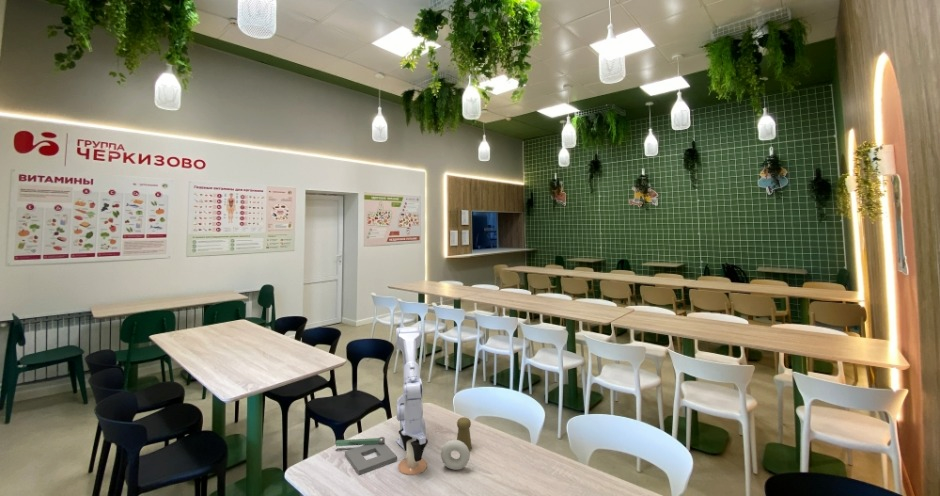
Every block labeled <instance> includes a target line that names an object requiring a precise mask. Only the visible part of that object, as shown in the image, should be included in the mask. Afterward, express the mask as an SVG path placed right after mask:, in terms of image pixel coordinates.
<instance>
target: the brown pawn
mask: <svg viewBox="0 0 940 496" xmlns="http://www.w3.org/2000/svg"><path fill="white" fill-rule="evenodd" d="M471 424H472V423H471V420H470V419H469V417H465V416H464V417H460V418H458V420H457V422H456V427H457V428H458V429H457V435H456V440H459V441H461V442H463V443H464V444H465V445H466V446H467V447H468V449H469V452H470V451H471V450H472V449H473V448H472V439H471V432H470V431H471V430H470V427H471Z"/></svg>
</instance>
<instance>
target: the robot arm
mask: <svg viewBox="0 0 940 496" xmlns="http://www.w3.org/2000/svg"><path fill="white" fill-rule="evenodd" d="M421 342H422V328H421V327H420V326H412V327H411V326H409V327H397V328H395V343H396V344H395V346H396V349H397V350H399V351H401V355H402V374H403V375H402V376H403V379H402V380H403V385H402V394H401V395H400V396H399V397H398V398H397V400H396V406H395V407H396V420H397V421H398V422H399V430H398V434H399V438H396V439H395V442H396V444H398V445H399V447H401V448H402V449H403V450H404V452H407V441H408V440H411V439H415V440H416V441H413V442H411V445H412V447H413V451H414V459H415V461H416V462H417V461H420V460H421V459H422V458H423V454H424V451H425V448H426V446H427V444H428V443H429V440H428V439H427V438H426V437H427V436H426V435H427V431H426V429H427V428H426V426H427V425H426V421H425V419H424V416H423V415H424V409H423V408H424V407H423V398H424V397H423V396H424V386H423V382H422V378H421V373H420V364H418V362H416V359H417V358H416V357H417V356H416V354H417V352H416V351H417V349H419V348H420V346H421Z"/></svg>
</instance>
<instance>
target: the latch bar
mask: <svg viewBox="0 0 940 496" xmlns="http://www.w3.org/2000/svg"><path fill="white" fill-rule="evenodd" d="M385 440H386V438H385V437H384V436H380V437H374V438H372V437H371V438H354V439H337V440H336V441H335V447H348V446H363V445H371V444H379V445H382V444H384V443H385V442H386V441H385ZM385 444H386V443H385Z"/></svg>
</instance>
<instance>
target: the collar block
mask: <svg viewBox="0 0 940 496" xmlns="http://www.w3.org/2000/svg"><path fill="white" fill-rule="evenodd" d="M373 453H375V454H376V456H375V457H371V458H368V459H366V458H365V457H364V456H367V455H370V454H373ZM344 456H345V458H346V459H347V461H348V462H349V463H350V465H351V466H352V468H353V469H354V470H355V471H356V473H357V475H358V476H360V475H363V474H365V473H368V472H370V471H371V472H372V471H374V470H375V469H379V468H381V467H383V466H387V465H389V464H392V463H395V462H397V461H398V455H396V453H395V452H394V451H393V450H392V449H391V448H390V447H389V446H388V445H387V444H386V443H384V444H382V445H379V444H371V445H359V446H357V447H354V448H351V449H348V450H345V451H344Z"/></svg>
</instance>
